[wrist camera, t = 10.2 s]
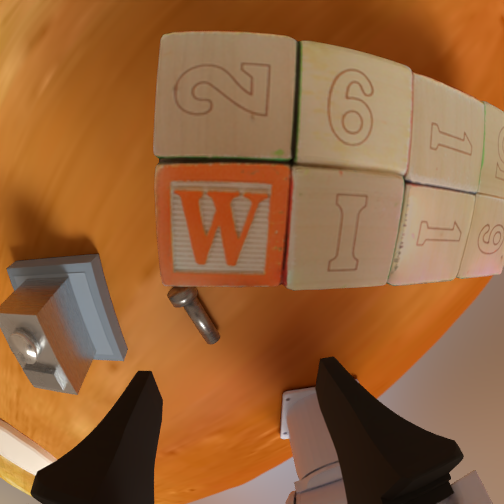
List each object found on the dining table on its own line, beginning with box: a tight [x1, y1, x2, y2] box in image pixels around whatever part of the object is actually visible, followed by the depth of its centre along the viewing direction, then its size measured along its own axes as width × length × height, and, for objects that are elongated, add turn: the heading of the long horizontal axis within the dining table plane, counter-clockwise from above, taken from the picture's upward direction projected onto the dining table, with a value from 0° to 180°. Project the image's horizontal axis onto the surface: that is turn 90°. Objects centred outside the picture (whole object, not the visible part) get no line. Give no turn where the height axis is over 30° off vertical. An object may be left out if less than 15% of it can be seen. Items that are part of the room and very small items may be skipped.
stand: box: [7, 254, 128, 361], centre depth 20 cm, size 9×9×2 cm
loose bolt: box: [167, 286, 220, 344], centre depth 20 cm, size 5×2×2 cm, turn 22°
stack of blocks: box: [153, 31, 504, 290], centre depth 12 cm, size 21×6×12 cm, turn 87°
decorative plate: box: [0, 419, 57, 476], centre depth 31 cm, size 25×4×25 cm
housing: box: [0, 277, 97, 395], centre depth 16 cm, size 7×4×6 cm, turn 2°
